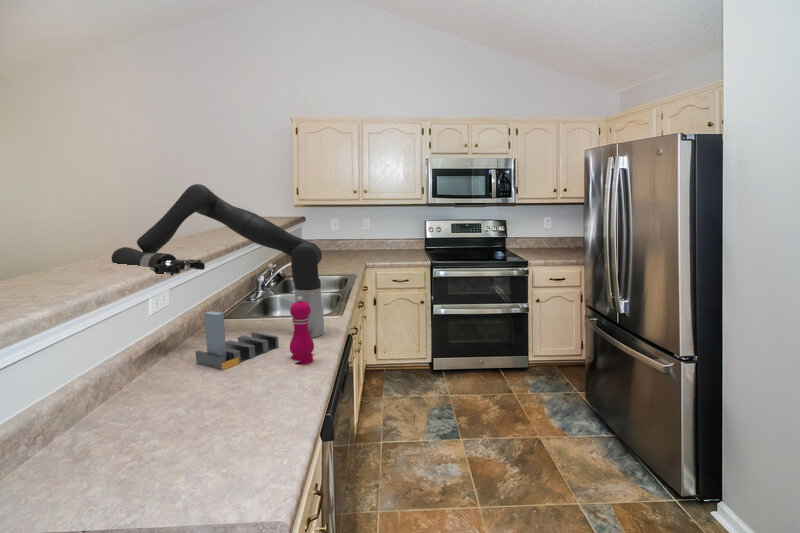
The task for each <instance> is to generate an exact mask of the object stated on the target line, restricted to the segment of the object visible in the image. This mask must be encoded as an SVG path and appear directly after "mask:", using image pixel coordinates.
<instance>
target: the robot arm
mask: <svg viewBox="0 0 800 533" xmlns="http://www.w3.org/2000/svg"><path fill="white" fill-rule="evenodd" d="M195 213H196V214H200V215H202V216H203V217H208V218H210V219H212V220H215V221H217V222H219V223H221V224H223V225H224V226H226V227H227V228H229V229H230V230H231V231H233V232H234V233H236V234H237V235H239V236H242V237H243V238H245V239H246V240H248V241H251V242H253V243H254V244H256V245H260V246H263V247H265V248H268V249H273V250H276V251H279V252H282V253H284V254H286V255H287V256H289V257H290V260H291V261H290V264H291V265H290V266H291V267H290V268H291V277H292V278H291V279H292V282H293V286H294V303H295V302H298V301H297V298H298V297H302V298H303V302H306V303H308V304H309V305H310V308H311V312H310V314H309V315H308V317H309V323H308V331H309V334H310V336H311V338H312V339H313V338H318V337H321V336H322V335H323V333H325V326H324V324H325V323H324V307H323V306H322V287H321V286H322V285H321V284H322V282H321V279H320V276H319V264H320V262H321V261H322V258H323V253H322V251H321V248H320V247H319V246H318V245H317V243H313V242H311V241H309V240H306V239H303V238H302V237H298V236H296V235H293V234H292V233H289V232H288V231H286V230H285V229H283V228H282V227H280V226H278V225H277V224H275V223H273V222H271V221H269V220H268V219H266V218H264V217H262V216H260V215H258V213H257V214H256V213H255V212H252V211H250V210H246V209H243V208H241V207H237V206H234V205H232V204H230V203H228V202H227V201H225V200H223V199H222V198H220V197H219V196H218V195H216V194H215V193H214V192H213V191H211V190H210V189H209V188H208V187H207V186H205V185H203V184H200V183H196V184H192V185H190V186H188V187H187V189H185V190H184V192H182V194H181V195H180V196H179V198H178V199H177V200H176V202H175V203H174V204H173V205H172V206H171V207H170V208H169V209H168V211H166V213H165V214H164V215H163V216H162V217H161V218H160V219H159V220H158V221H156V223H155V224H153V226H151V227H150V228H149V229H147V231H145V233H143V234H142V235H141V236H140V237H139V238H138V239H137V240H136V245H137V246H138V248H139V249H140V250H141V251H140V250H138V249H135V248H133V247H128V246H126V247H125V246H124V247H120V248H117V249H116V250H114V251H113V253H112V254H111V262H112V264H113V263H117V264H127V265H138V266H143V267H150V270H152V271H154V272H155V273H156V274H164V272H166V273H167V274H171V276H170V277H172V276H174V275H175V274H180V272H189V271H191V270H201V271H202V270H205V269H206V267H205V266H206V265H205V262H202V260H201V259H190V258H188V259H180V258H177V257H175V255H173V254H170V253H164V252H163V253H162V252H158V251H160V250H161V249H162V248H163V247H164V246H165V245H167V244H168V243H169V242H170V241H171V239H172V238H173V237H174V236H175V234H176V232H177V231H178V229H179V228H180V226H181V225H182V224H183V223H184V221H186V220H187V219H188V218H189V217H190V216H192V215H193V214H195Z"/></svg>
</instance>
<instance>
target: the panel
mask: <svg viewBox="0 0 800 533" xmlns="http://www.w3.org/2000/svg"><path fill="white" fill-rule="evenodd" d="M224 317H225V314H224V313H223V312H220V311H213V310H211V311H207V312H204V326H205V327H204V328H205V341H206V352H207V353H211V354H216V355H220V356H224V357H225V361H227V358H226V343H225V342H226V334H225V332H226V330H225V318H224Z"/></svg>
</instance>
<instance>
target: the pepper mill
mask: <svg viewBox="0 0 800 533" xmlns="http://www.w3.org/2000/svg"><path fill="white" fill-rule="evenodd" d="M297 301H298V302H295V301H294V302H293V303H292V304H291V306H290V309H289V313H290V315H291V316H292V318H291V320H292V324H293V334H292V338H291V340H290V342H289V352H290V353H291V354H292V355H291V359H292V360H295V361H297V362H295V363H294V365H297V366H298V365H299V366H300V365H308V364H310V363H311V364H312V362H313V361H314V355H313V354H312V353H313V352H314V350H315V343H314V341H313V338H311V336H310V334H309V331H308V323H309V317H308V315H309V314H310V312H311V308H310V305H309V304H308V303H306V302H303V298H302V297H298V298H297Z"/></svg>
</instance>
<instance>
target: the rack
mask: <svg viewBox="0 0 800 533" xmlns="http://www.w3.org/2000/svg"><path fill="white" fill-rule="evenodd" d="M225 343H226V358H227V361H225V357H224V356H220V355H216V354H211V353H207V351H204V350H203V351H202V350H196V351H195V362H196V363H195V364H198V365H201V366H206V367H208V368H209V367H210V368H213V369H217V370H220V371H225V370H227V369H229V368H233V367H234V366H237V365H240V363H241V364H242V363H244V362H245V361H248V360H250V359H253V358H256V357H258V356H260V355H264V354H266V353H269V352H271V351H274V350H276V349H278V348H280V344H279V336H277V335H271V334H267V333H265V334H264V333H261V332H255V331H253V332H251V333H250V336H246V335H241V336H238V337H237V341H235V340H229V339H228V340H225Z"/></svg>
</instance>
